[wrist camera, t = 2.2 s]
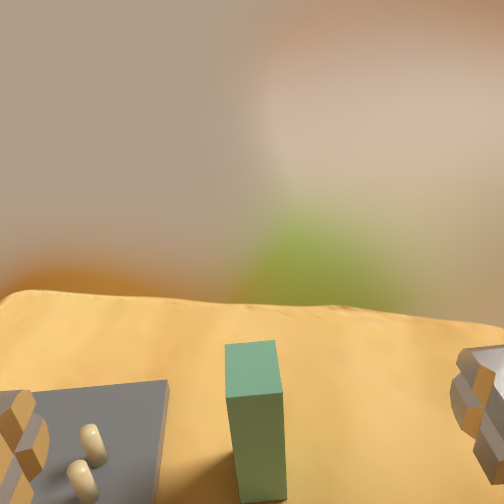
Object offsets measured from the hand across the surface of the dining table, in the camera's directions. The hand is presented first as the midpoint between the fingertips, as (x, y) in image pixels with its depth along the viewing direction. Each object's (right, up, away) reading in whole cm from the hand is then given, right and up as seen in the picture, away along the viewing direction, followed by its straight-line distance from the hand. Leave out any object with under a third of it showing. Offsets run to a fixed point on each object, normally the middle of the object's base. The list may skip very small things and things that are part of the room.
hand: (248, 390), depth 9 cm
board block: (+1, -12, +22) cm, 25 cm away
